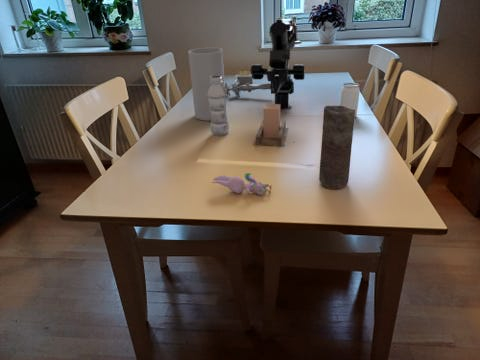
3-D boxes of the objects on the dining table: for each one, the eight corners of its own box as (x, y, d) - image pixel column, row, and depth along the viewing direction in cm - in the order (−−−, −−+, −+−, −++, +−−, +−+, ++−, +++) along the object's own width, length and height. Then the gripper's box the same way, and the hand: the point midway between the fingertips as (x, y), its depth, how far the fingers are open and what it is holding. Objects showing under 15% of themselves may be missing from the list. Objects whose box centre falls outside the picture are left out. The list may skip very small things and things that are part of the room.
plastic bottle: (232, 132, 125) (229, 74, 115) (225, 139, 119) (221, 79, 109) (215, 130, 127) (210, 74, 117) (207, 137, 121) (202, 79, 111)
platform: (231, 81, 191) (230, 69, 188) (264, 81, 188) (264, 69, 184) (226, 87, 181) (225, 74, 178) (260, 87, 177) (260, 74, 174)
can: (357, 119, 131) (361, 87, 125) (339, 118, 132) (342, 87, 126) (355, 113, 136) (359, 82, 130) (338, 113, 138) (341, 82, 132)
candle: (315, 176, 94) (320, 103, 84) (341, 174, 94) (350, 101, 85) (323, 191, 87) (330, 113, 78) (352, 189, 88) (362, 111, 78)
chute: (260, 129, 126) (260, 119, 124) (288, 130, 124) (288, 120, 122) (252, 147, 112) (252, 136, 110) (284, 149, 110) (284, 137, 108)
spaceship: (272, 83, 151) (275, 72, 155) (198, 89, 161) (202, 79, 166) (275, 98, 157) (278, 87, 161) (203, 103, 167) (207, 92, 172)
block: (265, 132, 121) (265, 103, 116) (280, 132, 120) (280, 104, 115) (263, 137, 117) (263, 108, 112) (278, 138, 116) (278, 109, 111)
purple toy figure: (270, 191, 91) (214, 180, 92) (274, 171, 88) (216, 160, 89) (268, 205, 86) (208, 192, 87) (272, 184, 83) (210, 172, 84)
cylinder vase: (232, 114, 141) (229, 49, 129) (210, 123, 133) (204, 54, 121) (211, 109, 149) (206, 46, 136) (188, 117, 141) (181, 51, 129)
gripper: (250, 40, 120) (245, 80, 116) (306, 39, 117) (302, 81, 113) (254, 59, 131) (250, 97, 127) (305, 59, 127) (302, 98, 123)
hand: (275, 93), depth 122 cm, fingers closed
